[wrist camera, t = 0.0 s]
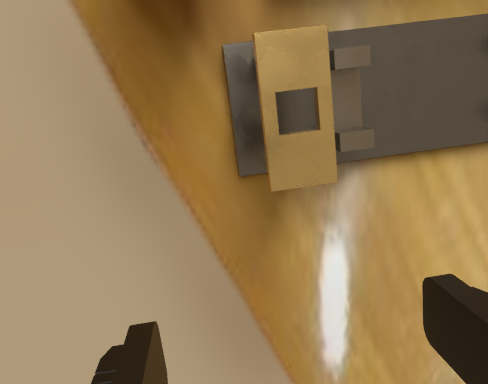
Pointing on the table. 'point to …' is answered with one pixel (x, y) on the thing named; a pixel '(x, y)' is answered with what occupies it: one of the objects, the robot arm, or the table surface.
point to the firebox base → (391, 90)
